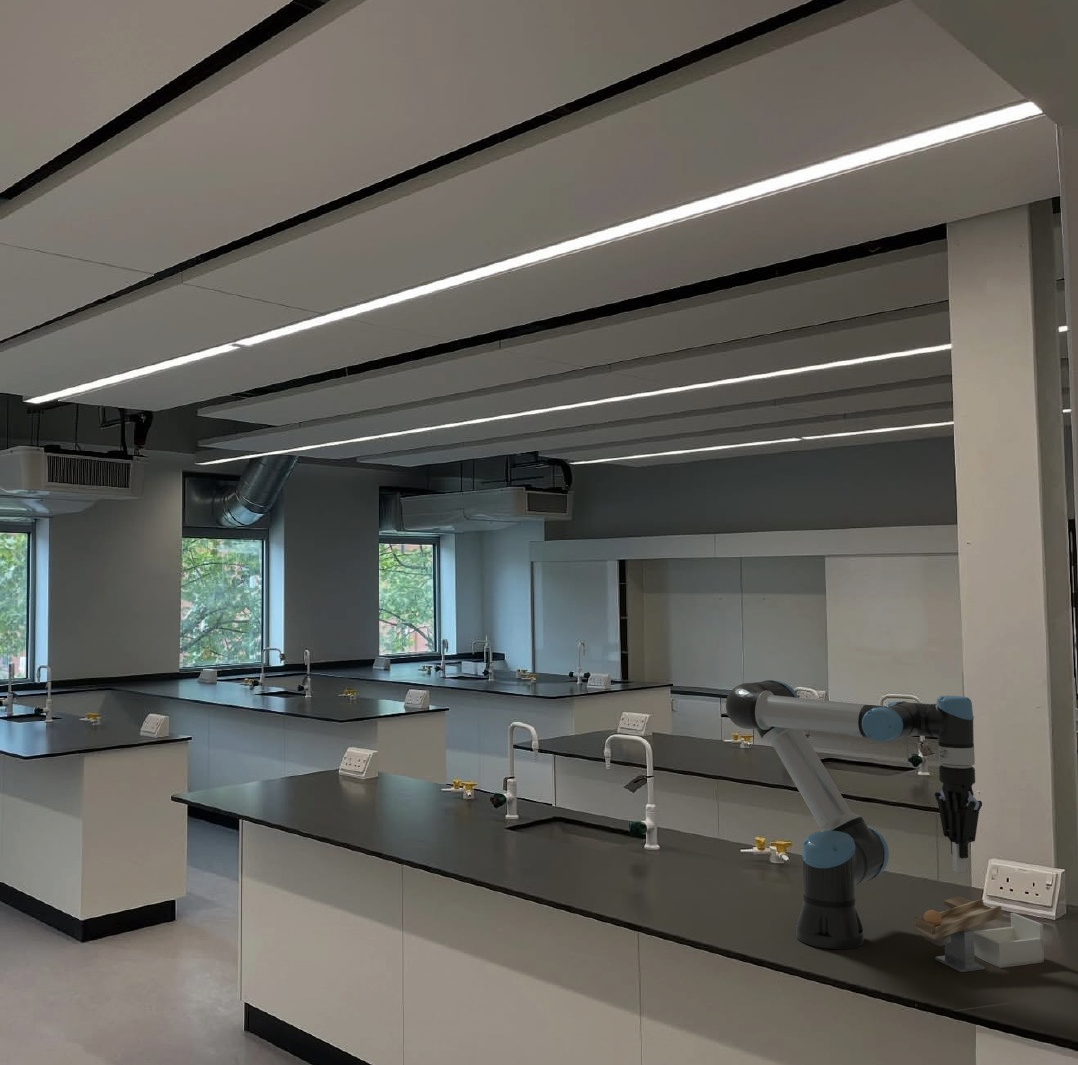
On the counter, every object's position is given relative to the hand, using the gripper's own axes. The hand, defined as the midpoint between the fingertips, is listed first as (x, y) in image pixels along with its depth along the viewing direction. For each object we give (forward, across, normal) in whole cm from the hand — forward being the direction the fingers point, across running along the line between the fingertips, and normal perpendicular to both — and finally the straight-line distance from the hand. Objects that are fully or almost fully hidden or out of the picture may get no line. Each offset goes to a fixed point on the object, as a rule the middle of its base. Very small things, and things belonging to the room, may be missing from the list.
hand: (960, 871), depth 229 cm
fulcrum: (+17, +7, -7) cm, 20 cm away
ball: (+7, +7, -13) cm, 17 cm away
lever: (+11, +4, -6) cm, 13 cm away
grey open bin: (+17, +7, +6) cm, 20 cm away
